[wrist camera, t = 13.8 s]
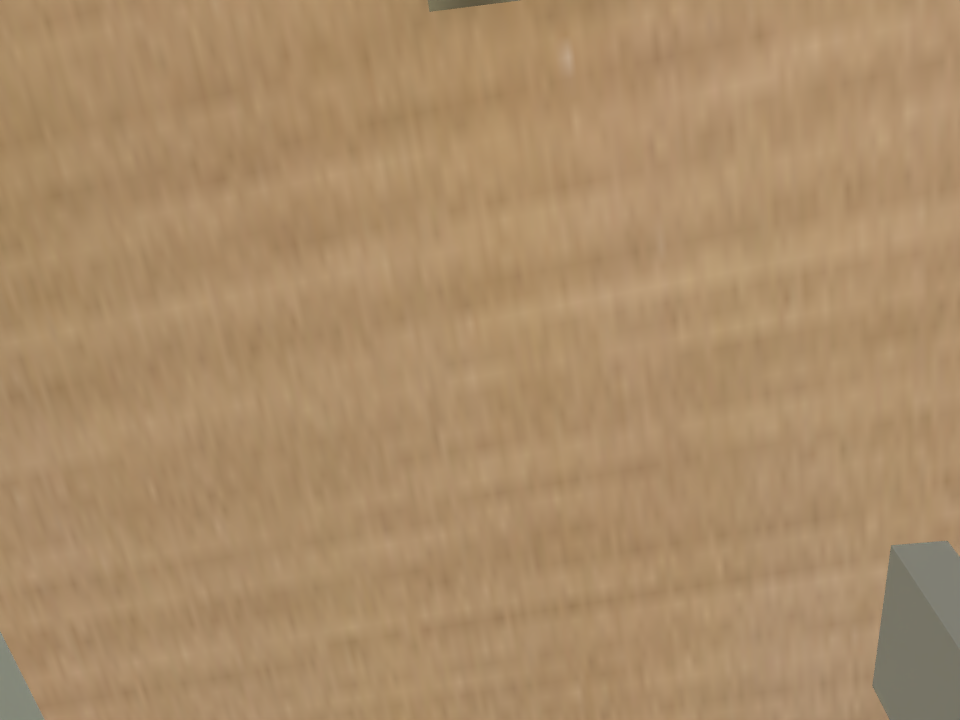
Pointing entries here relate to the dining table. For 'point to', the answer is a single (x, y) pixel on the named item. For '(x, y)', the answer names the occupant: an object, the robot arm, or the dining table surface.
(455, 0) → the board
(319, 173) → the dining table surface
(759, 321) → the dining table surface
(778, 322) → the dining table surface
